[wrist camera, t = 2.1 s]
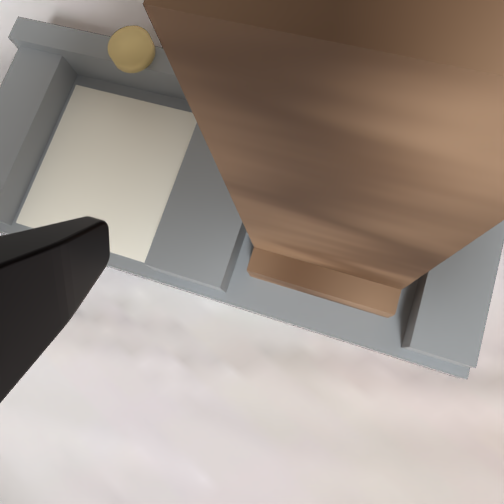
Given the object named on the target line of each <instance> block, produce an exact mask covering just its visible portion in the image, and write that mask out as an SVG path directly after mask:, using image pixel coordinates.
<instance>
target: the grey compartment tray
mask: <svg viewBox="0 0 504 504" xmlns="http://www.w3.org/2000/svg"><path fill="white" fill-rule="evenodd" d="M8 38H9V39H10V40H11V41H12V42H13V43H14V44H15V46H16V47H17V48H18V51H17V53H16V55H15V57H14V59H13V61H12V63H11V65H10V68H9V70H8V72H7V74H6V76H5V78H4V80H3V82H2V84H1V87H0V232H1V233H4V234H11V233H15V232H20V231H24V230H28V229H33V228H37V227H41V226H46V225H50V224H54V223H59V222H63V221H68V220H72V219H76V218H81V217H85V216H90V217H94V218H97V219H101V220H104V221H105V222H106V223H107V224H108V227H109V243H110V258H109V261H108V264H107V266H108V267H111V268H114V269H117V270H120V271H124V272H127V273H130V274H133V275H136V276H139V277H142V278H146V279H149V280H152V281H155V282H158V283H161V284H164V285H168V286H171V287H174V288H177V289H180V290H183V291H187V292H190V293H193V294H196V295H199V296H202V297H205V298H209V299H212V300H215V301H218V302H221V303H224V304H227V305H231V306H234V307H237V308H240V309H243V310H246V311H249V312H253V313H256V314H259V315H262V316H265V317H268V318H271V319H275V320H278V321H281V322H284V323H287V324H290V325H293V326H297V327H300V328H303V329H306V330H309V331H312V332H315V333H319V334H322V335H325V336H328V337H331V338H334V339H338V340H341V341H344V342H347V343H350V344H353V345H356V346H360V347H363V348H366V349H369V350H372V351H375V352H378V353H382V354H385V355H388V356H391V357H394V358H397V359H400V360H404V361H407V362H410V363H413V364H416V365H419V366H422V367H426V368H429V369H432V370H435V371H438V372H441V373H444V374H448V375H451V376H454V377H457V378H462V379H468V375H469V370H470V367H471V368H476V366H477V361H478V357H479V352H480V347H481V343H482V338H483V334H484V329H485V325H486V320H487V316H488V311H489V306H490V302H491V297H492V293H493V288H494V284H495V279H496V275H497V270H498V266H499V261H500V256H501V252H502V247H503V243H504V220H503V221H502V222H500V223H499V224H497V225H496V226H494V227H493V228H491V229H490V230H489V231H487V232H486V233H484V234H483V235H481V236H480V237H478V238H477V239H475V240H474V241H472V242H471V243H469V244H468V245H467V246H465V247H464V248H462V249H461V250H459V251H458V252H456V253H455V254H453V255H452V256H450V257H449V258H447V259H446V260H445V261H443V262H442V263H440V264H439V265H437V266H436V267H434V268H433V269H431V270H430V271H428V272H427V273H425V274H424V275H423V276H421V277H420V278H418V279H417V280H415V281H414V282H412V283H411V284H409V285H408V286H406V287H405V288H403V289H402V290H401V293H400V297H399V301H398V305H397V309H396V313H395V315H393V316H391V317H389V318H386V317H383V316H379V315H376V314H373V313H369V312H366V311H363V310H359V309H356V308H353V307H350V306H346V305H343V304H340V303H336V302H333V301H330V300H327V299H323V298H320V297H317V296H313V295H310V294H307V293H303V292H300V291H297V290H294V289H290V288H287V287H284V286H280V285H277V284H274V283H270V282H267V281H264V280H261V279H257V278H254V277H251V276H250V275H249V273H248V272H247V267H248V264H249V261H250V258H251V255H252V252H253V248H254V246H253V244H252V242H251V239H250V237H249V235H248V233H247V231H246V228H245V226H244V224H243V222H242V220H241V218H240V215H239V213H238V211H237V209H236V207H235V204H234V202H233V200H232V198H231V196H230V193H229V191H228V189H227V187H226V185H225V183H224V180H223V178H222V176H221V174H220V172H219V169H218V167H217V165H216V163H215V161H214V158H213V156H212V154H211V152H210V150H209V148H208V145H207V143H206V141H205V139H204V137H203V134H202V132H201V130H200V128H199V126H198V123H197V121H196V119H195V117H194V115H193V113H192V110H191V108H190V106H189V104H188V102H187V99H186V97H185V95H184V93H183V91H182V88H181V86H180V84H179V82H178V80H177V78H176V75H175V73H174V71H173V69H172V67H171V64H170V62H169V60H168V58H167V56H166V53H165V51H164V49H163V48H161V47H156V46H154V44H153V41H152V39H151V37H150V35H149V34H148V32H147V31H146V30H145V29H143V28H142V27H139V26H126V27H123V28H121V29H119V30H118V31H116V32H115V33H114V34H113V35H112V37H110V36H106V35H101V34H96V33H92V32H87V31H82V30H78V29H73V28H69V27H64V26H59V25H55V24H50V23H46V22H41V21H36V20H32V19H27V18H22V17H18V18H17V20H16V22H15V24H14V26H13V28H12V30H11V32H10V35H9V37H8Z"/></svg>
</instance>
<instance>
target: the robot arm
mask: <svg viewBox="0 0 504 504" xmlns="http://www.w3.org/2000/svg"><path fill="white" fill-rule="evenodd" d="M109 258H110V243H109V227H108V224H107V223H106V222H105V221H104V220H101V219H97V218H94V217H90V216H85V217H81V218H76V219H72V220H68V221H63V222H59V223H54V224H50V225H46V226H41V227H37V228H33V229H28V230H24V231H20V232H15V233H11V234H7V235H2V236H0V403H1V402H2V400H3V399H4V398H5V397H6V396H7V394H8V393H9V392H10V391H11V390H12V389H13V387H14V386H15V385H16V384H17V383H18V381H19V380H20V379H21V378H22V377H23V375H24V374H25V373H26V372H27V371H28V369H29V368H30V367H31V366H32V365H33V364H34V362H35V361H36V360H37V359H38V358H39V356H40V355H41V354H42V353H43V352H44V350H45V349H46V348H47V347H48V346H49V345H50V343H51V342H52V341H53V340H54V339H55V337H56V336H57V335H58V334H59V333H60V331H61V330H62V329H63V328H64V327H65V325H66V324H67V323H68V322H69V320H70V319H71V318H72V316H73V315H74V313H75V312H76V311H77V309H78V308H79V306H80V305H81V303H82V302H83V300H84V299H85V297H86V296H87V294H88V293H89V291H90V290H91V288H92V287H93V285H94V284H95V282H96V281H97V279H98V278H99V276H100V275H101V273H102V272H103V270H104V269H105V267H106V266H107V264H108V261H109Z"/></svg>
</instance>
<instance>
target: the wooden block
mask: <svg viewBox="0 0 504 504" xmlns="http://www.w3.org/2000/svg"><path fill="white" fill-rule="evenodd" d="M143 5H144V7H145V10H146V12H147V14H148V16H149V18H150V21H151V23H152V25H153V27H154V29H155V32H156V34H157V36H158V38H159V40H160V43H161V45H162V47H163V49H164V51H165V53H166V56H167V58H168V60H169V62H170V64H171V67H172V69H173V71H174V73H175V75H176V78H177V80H178V82H179V84H180V86H181V88H182V91H183V93H184V95H185V97H186V99H187V102H188V104H189V106H190V108H191V110H192V113H193V115H194V117H195V119H196V121H197V123H198V126H199V128H200V130H201V132H202V134H203V137H204V139H205V141H206V143H207V145H208V148H209V150H210V152H211V154H212V156H213V158H214V161H215V163H216V165H217V167H218V169H219V172H220V174H221V176H222V178H223V180H224V183H225V185H226V187H227V189H228V191H229V193H230V196H231V198H232V200H233V202H234V204H235V207H236V209H237V211H238V213H239V215H240V218H241V220H242V222H243V224H244V226H245V228H246V231H247V233H248V235H249V237H250V239H251V242H252V244H253V246H254V248H253V252H252V255H251V258H250V261H249V264H248V267H247V272H248V273H249V275H250V276H251V277H254V278H257V279H261V280H264V281H267V282H270V283H274V284H277V285H280V286H284V287H287V288H290V289H294V290H297V291H300V292H303V293H307V294H310V295H313V296H317V297H320V298H323V299H327V300H330V301H333V302H336V303H340V304H343V305H346V306H350V307H353V308H356V309H359V310H363V311H366V312H369V313H373V314H376V315H379V316H383V317H386V318H389V317H391V316H393V315H395V313H396V309H397V305H398V301H399V297H400V293H401V290H402V289H403V288H405V287H406V286H408V285H409V284H411V283H412V282H414V281H415V280H417V279H418V278H420V277H421V276H423V275H424V274H425V273H427V272H428V271H430V270H431V269H433V268H434V267H436V266H437V265H439V264H440V263H442V262H443V261H445V260H446V259H447V258H449V257H450V256H452V255H453V254H455V253H456V252H458V251H459V250H461V249H462V248H464V247H465V246H467V245H468V244H469V243H471V242H472V241H474V240H475V239H477V238H478V237H480V236H481V235H483V234H484V233H486V232H487V231H489V230H490V229H491V228H493V227H494V226H496V225H497V224H499V223H500V222H502V221H503V220H504V0H144V2H143Z"/></svg>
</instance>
